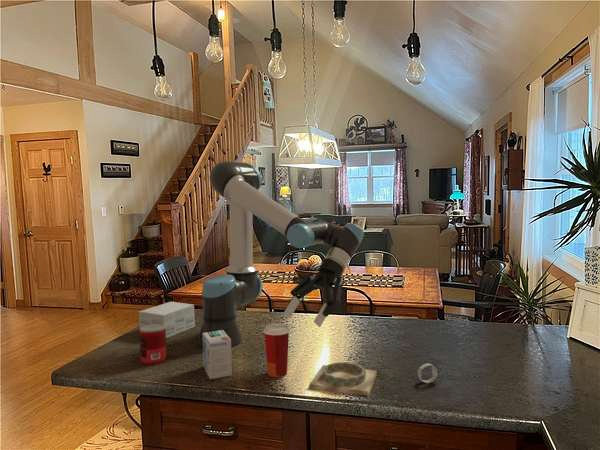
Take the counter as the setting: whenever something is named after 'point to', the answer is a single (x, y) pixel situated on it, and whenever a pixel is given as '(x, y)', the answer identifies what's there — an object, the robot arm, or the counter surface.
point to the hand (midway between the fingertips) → (301, 320)
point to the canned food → (153, 343)
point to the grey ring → (432, 372)
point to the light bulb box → (217, 354)
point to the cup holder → (344, 378)
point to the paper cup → (276, 349)
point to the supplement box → (169, 317)
